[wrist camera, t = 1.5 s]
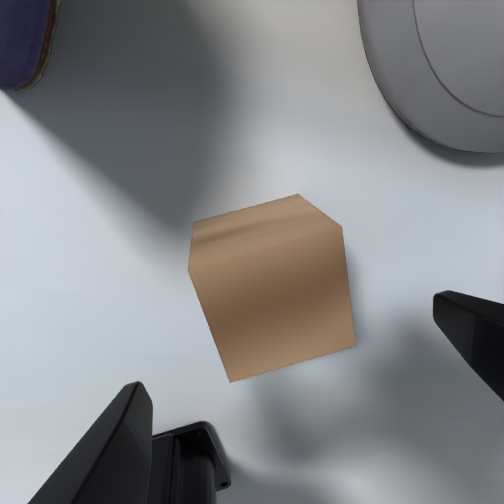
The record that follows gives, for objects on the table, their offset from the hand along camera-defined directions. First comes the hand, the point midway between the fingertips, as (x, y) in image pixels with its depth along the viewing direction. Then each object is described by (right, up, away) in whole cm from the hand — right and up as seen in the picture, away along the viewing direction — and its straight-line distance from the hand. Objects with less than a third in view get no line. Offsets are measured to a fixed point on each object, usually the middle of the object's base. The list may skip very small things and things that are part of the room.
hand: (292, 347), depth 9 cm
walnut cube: (-1, +3, +6) cm, 7 cm away
